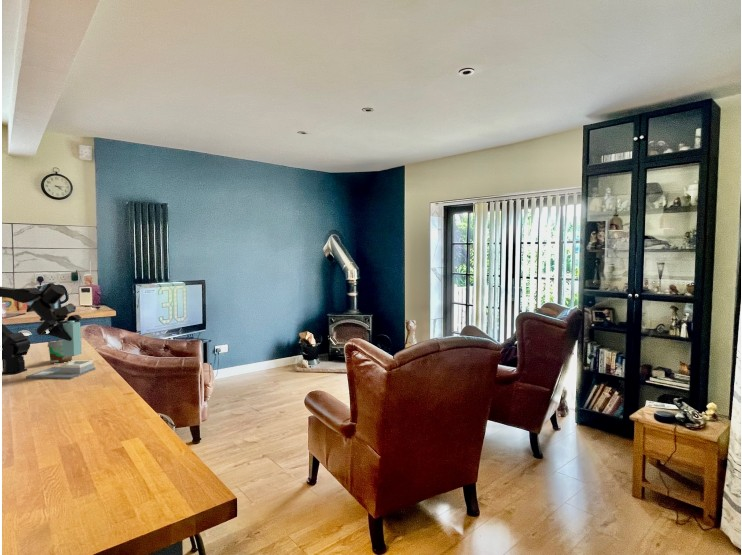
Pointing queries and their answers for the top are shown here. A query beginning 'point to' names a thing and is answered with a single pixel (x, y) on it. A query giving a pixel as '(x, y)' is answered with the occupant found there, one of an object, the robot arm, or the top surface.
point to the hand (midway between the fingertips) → (75, 339)
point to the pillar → (75, 344)
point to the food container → (57, 352)
